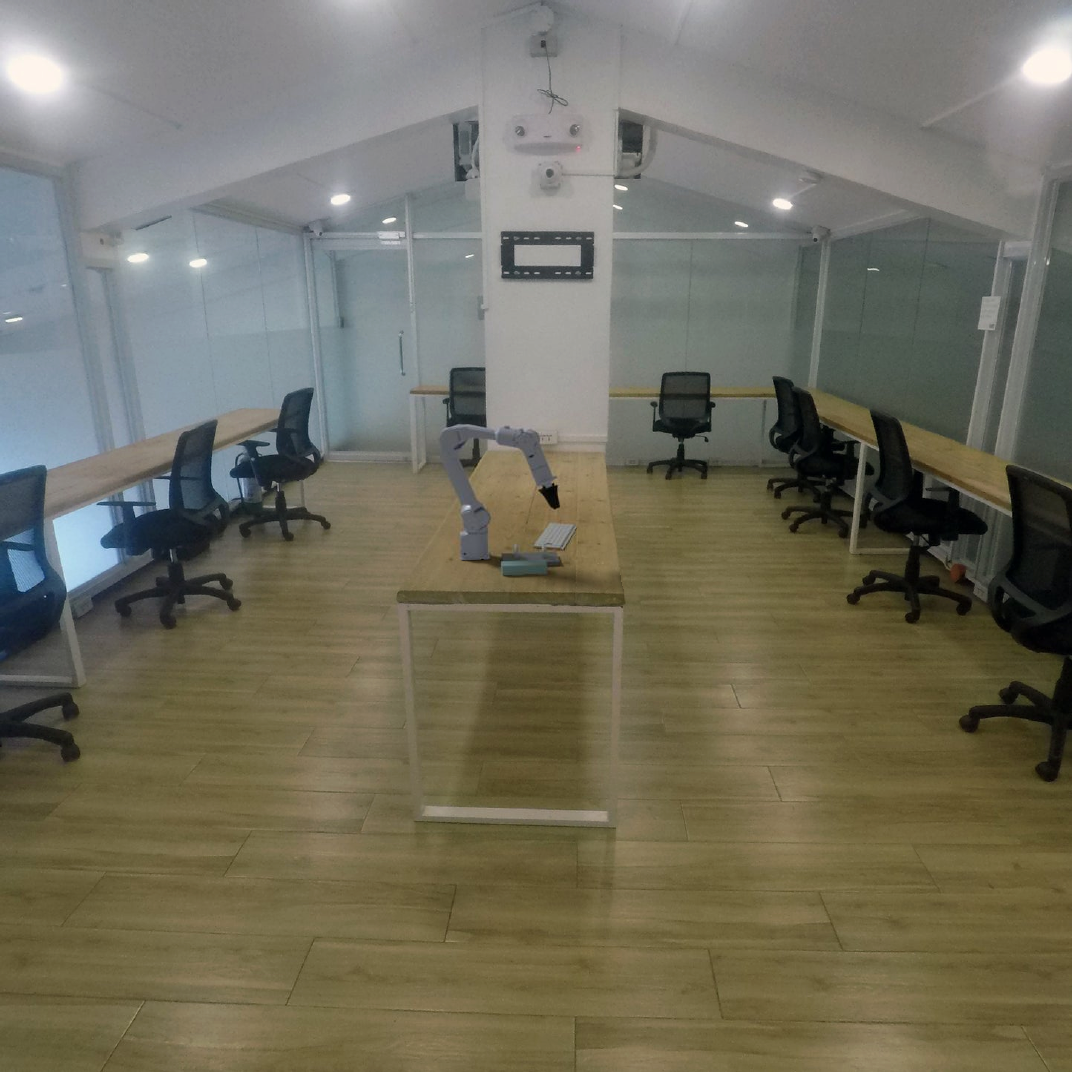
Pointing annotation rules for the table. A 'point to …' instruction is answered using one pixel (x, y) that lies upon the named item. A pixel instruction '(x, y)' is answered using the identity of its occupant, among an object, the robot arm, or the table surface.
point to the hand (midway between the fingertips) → (555, 507)
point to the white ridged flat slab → (555, 536)
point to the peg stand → (532, 556)
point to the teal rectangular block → (524, 567)
